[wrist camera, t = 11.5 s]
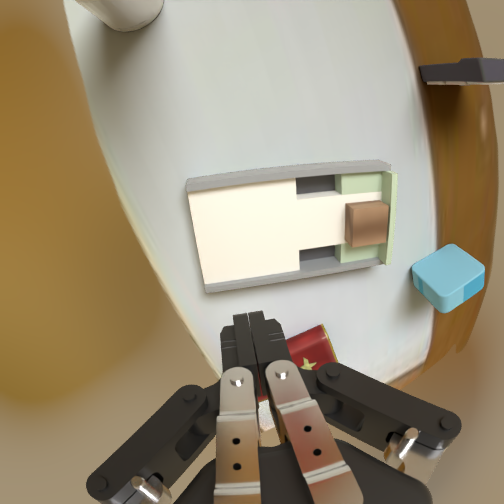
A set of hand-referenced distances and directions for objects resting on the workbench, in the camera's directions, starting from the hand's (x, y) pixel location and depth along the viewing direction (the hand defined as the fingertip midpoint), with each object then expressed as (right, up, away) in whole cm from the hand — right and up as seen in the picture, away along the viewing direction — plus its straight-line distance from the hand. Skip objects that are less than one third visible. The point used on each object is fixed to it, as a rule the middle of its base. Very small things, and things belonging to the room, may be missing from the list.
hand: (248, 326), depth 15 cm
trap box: (+7, +9, +32) cm, 34 cm away
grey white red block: (+34, +36, +24) cm, 54 cm away
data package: (+37, +2, +40) cm, 55 cm away
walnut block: (+17, +9, +31) cm, 36 cm away
